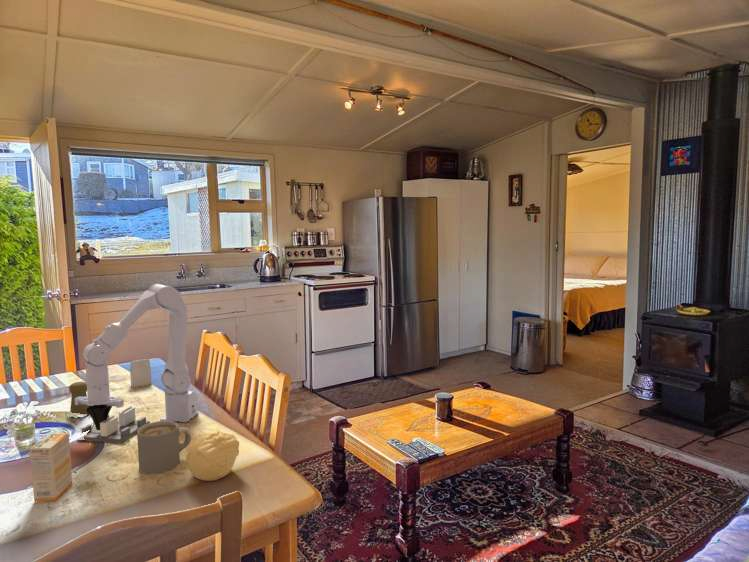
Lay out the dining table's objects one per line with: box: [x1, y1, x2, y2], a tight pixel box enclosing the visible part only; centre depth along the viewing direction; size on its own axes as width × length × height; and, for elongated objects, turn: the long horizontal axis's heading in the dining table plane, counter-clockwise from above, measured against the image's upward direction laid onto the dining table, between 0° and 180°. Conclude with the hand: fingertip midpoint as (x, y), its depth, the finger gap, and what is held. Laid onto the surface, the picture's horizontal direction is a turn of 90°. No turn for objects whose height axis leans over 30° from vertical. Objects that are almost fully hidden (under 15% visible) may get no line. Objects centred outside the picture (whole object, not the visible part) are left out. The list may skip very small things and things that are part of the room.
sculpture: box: [186, 430, 240, 482], centre depth 127 cm, size 12×12×11 cm
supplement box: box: [29, 432, 73, 503], centre depth 118 cm, size 8×5×13 cm, turn 5°
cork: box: [69, 381, 90, 416], centre depth 167 cm, size 6×6×11 cm
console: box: [80, 414, 151, 444], centre depth 153 cm, size 14×14×3 cm
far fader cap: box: [118, 406, 137, 426], centre depth 157 cm, size 2×5×4 cm, turn 172°
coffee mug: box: [136, 420, 192, 475], centre depth 133 cm, size 13×10×10 cm
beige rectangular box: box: [129, 358, 153, 389], centre depth 198 cm, size 4×7×10 cm, turn 128°
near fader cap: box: [100, 415, 119, 437], centre depth 149 cm, size 2×5×4 cm, turn 172°
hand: (100, 428), depth 150 cm, fingers closed
